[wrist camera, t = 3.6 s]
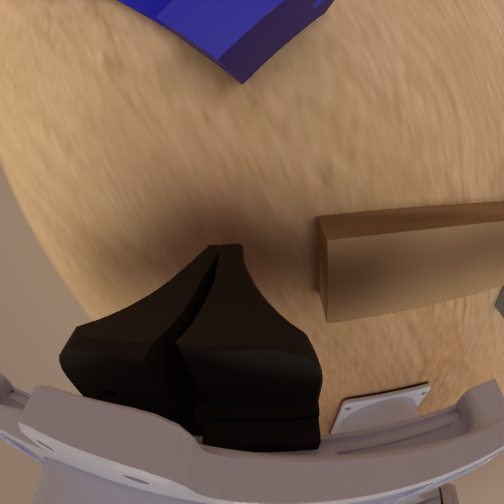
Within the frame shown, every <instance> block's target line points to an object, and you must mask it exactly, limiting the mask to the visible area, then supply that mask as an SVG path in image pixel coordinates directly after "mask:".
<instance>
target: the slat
mask: <svg viewBox="0 0 504 504" xmlns="http://www.w3.org/2000/svg"><path fill="white" fill-rule="evenodd" d="M317 228H318V250H319V290H320V297H321V301H322V305H323V309H324V313H325V317H326V321H327V323H333V322H340V321H346V320H353V319H359V318H365V317H371V316H377V315H383V314H388V313H393V312H399V311H404V310H409V309H413V308H418V307H423V306H427V305H432V304H436V303H441V302H445V301H449V300H453V299H457V298H461V297H465V296H469V295H472V294H476V293H480V292H483V291H487V290H490V289H494V288H497V287H500V286H503V285H504V202H491V203H472V204H455V205H439V206H425V207H412V208H399V209H387V210H376V211H365V212H354V213H344V214H334V215H324V216H317Z"/></svg>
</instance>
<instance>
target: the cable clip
mask: <svg viewBox="0 0 504 504" xmlns="http://www.w3.org/2000/svg"><path fill="white" fill-rule="evenodd" d="M118 1H120V2H122V3H123V4H125V5H127V6H129V7H131V8H133V9H134V10H136V11H138V12H140V13H141V14H143V15H145V16H147V17H148V18H150V19H152V20H153V21H155V22H157V23H158V24H160V25H161V26H163V27H165V28H166V29H168V30H169V31H171V32H172V33H174V34H175V35H177V36H178V37H180V38H181V39H183V40H184V41H186V42H187V43H189V44H190V45H192V46H193V47H194V48H196V49H197V50H199V51H200V52H201V53H203V54H204V55H205V56H207V57H208V58H210V59H211V60H212V61H214V62H215V63H216V64H218V65H219V66H220V67H221V68H223V69H224V70H225V71H227V72H228V73H229V74H230V75H232V76H233V77H234V78H235V79H237V80H238V81H239V82H240V83H241V84H243V83H244V82H245V81H246V80H247V79H248V78H249V77H250V76H251V75H252V74H253V73H254V72H255V71H257V70H258V69H259V68H260V67H261V66H262V65H263V64H264V63H265V62H266V61H267V60H268V59H269V58H270V57H272V56H273V55H274V54H275V53H276V52H277V51H278V50H279V49H281V48H282V47H283V46H284V45H285V44H286V43H287V42H289V41H290V40H291V39H292V38H293V37H295V36H296V35H297V34H298V33H299V32H301V31H302V30H303V29H304V28H305V27H307V26H308V25H309V24H311V23H312V22H313V21H314V20H316V19H317V18H318V17H320V16H321V15H322V14H324V13H325V12H326V11H327V9H328V8H329V7H330V5H331V4H332V3H333V1H334V0H118Z"/></svg>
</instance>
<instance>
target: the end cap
mask: <svg viewBox="0 0 504 504" xmlns="http://www.w3.org/2000/svg"><path fill="white" fill-rule="evenodd" d="M495 307H496V308H497V310H498V311H499V312H500V314H501V315H502V316H503V318H504V287H503V289H502V291H501V294H500V296H499V298H498V300H497V303H496V305H495Z"/></svg>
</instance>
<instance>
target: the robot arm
mask: <svg viewBox="0 0 504 504" xmlns="http://www.w3.org/2000/svg"><path fill="white" fill-rule="evenodd" d="M59 361H60V364H61V367H62V370H63V371H64V373H65V374H66V376H67V377H68V378H69V380H70V381H71V382H72V383H73V385H74V386H75V387H76V388H77V389H78V391H79V392H80V393H81V394H82V395H83V396H80V395H76V394H73V393H70V392H66V391H63V390H60V389H57V388H54V387H50V386H43V385H39V386H36V387H35V388H34V390H33V392H32V394H31V395H30V394H29V393H26V392H24V391H22V390H19V389H17V388H15V387H13V386H12V384H11V383H10V381H9V380H8V379H7V378H6V377H5V376H4V375H3V374H2V373H0V438H1V439H3V440H4V441H5V442H7V443H8V444H10V445H11V446H12V447H14V448H15V449H17V450H18V451H20V452H22V453H23V454H25V455H26V456H28V457H29V458H31V459H33V460H34V461H36V462H38V463H39V464H41V465H43V468H42V471H41V474H40V477H39V480H38V483H37V487H36V489H35V493H34V497H33V500H32V503H31V504H459V502H458V497H457V492H456V487H455V485H453V484H449V482H451V481H453V480H455V479H457V478H459V477H461V476H463V475H465V474H467V473H469V472H471V471H473V470H475V469H477V468H478V467H480V466H482V465H483V464H484V463H486V462H488V461H489V460H491V459H492V458H493V457H495V456H496V455H498V454H499V453H500V452H502V451H503V450H504V397H503V394H502V392H501V390H500V388H499V386H498V384H497V382H496V380H495V379H492V380H490V381H487V382H485V383H482V384H480V385H478V386H475V387H473V388H471V389H469V390H468V391H467V392H465V393H464V394H463V395H462V396H461V397H460V399H459V400H458V402H457V404H455V405H452V406H449V407H447V408H444V409H441V410H438V411H435V412H431V413H428V414H425V415H422V416H420V415H419V411H418V408H417V407H418V405H419V404H420V403H421V401H422V400H423V399H424V397H425V396H426V395H427V393H428V392H429V390H430V389H431V386H430V384H424V385H420V386H416V387H412V388H407V389H403V390H398V391H394V392H389V393H384V394H378V395H373V396H367V397H361V398H354V399H348V400H345V401H344V402H343V403H342V405H341V407H340V410H339V413H338V415H337V418H336V420H335V423H334V425H333V427H332V430H331V432H330V434H328V435H320V428H319V418H318V417H319V403H318V400H319V395H320V391H321V386H322V380H323V377H322V370H321V366H320V363H319V360H318V358H317V355H316V353H315V351H314V348H313V346H312V344H311V342H310V340H309V339H308V337H307V335H306V333H304V332H303V331H301V330H300V329H298V328H297V327H295V326H294V325H292V324H291V323H289V322H288V321H287V320H286V319H285V318H284V317H282V316H281V315H280V314H279V313H278V312H277V311H276V310H275V309H274V308H273V307H272V306H271V305H270V304H269V303H268V302H267V300H266V299H265V298H264V297H263V295H262V294H261V293H260V291H259V290H258V288H257V287H256V285H255V284H254V282H253V280H252V278H251V277H250V275H249V273H248V271H247V268H246V266H245V263H244V258H243V248H242V246H241V245H240V244H227V245H209V246H208V247H207V248H206V249H205V250H204V251H202V252H201V253H200V254H199V255H198V256H197V257H196V258H195V259H194V260H193V261H192V262H191V263H190V264H189V265H187V266H186V267H185V268H184V269H183V270H182V271H181V272H179V273H178V274H177V275H176V276H175V277H173V278H172V279H171V280H170V281H169V282H167V283H166V284H165V285H163V286H162V287H160V288H159V289H157V290H156V291H154V292H153V293H151V294H150V295H148V296H147V297H145V298H143V299H141V300H139V301H138V302H136V303H134V304H132V305H131V306H129V307H127V308H125V309H122V310H120V311H118V312H116V313H114V314H111V315H109V316H107V317H104V318H101V319H99V320H96V321H93V322H90V323H87V324H84V325H81V326H77V327H76V328H75V330H74V332H73V333H72V335H71V337H70V338H69V340H68V342H67V343H66V345H65V347H64V348H63V350H62V352H61V354H60V355H59ZM441 487H442V489H441Z"/></svg>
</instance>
